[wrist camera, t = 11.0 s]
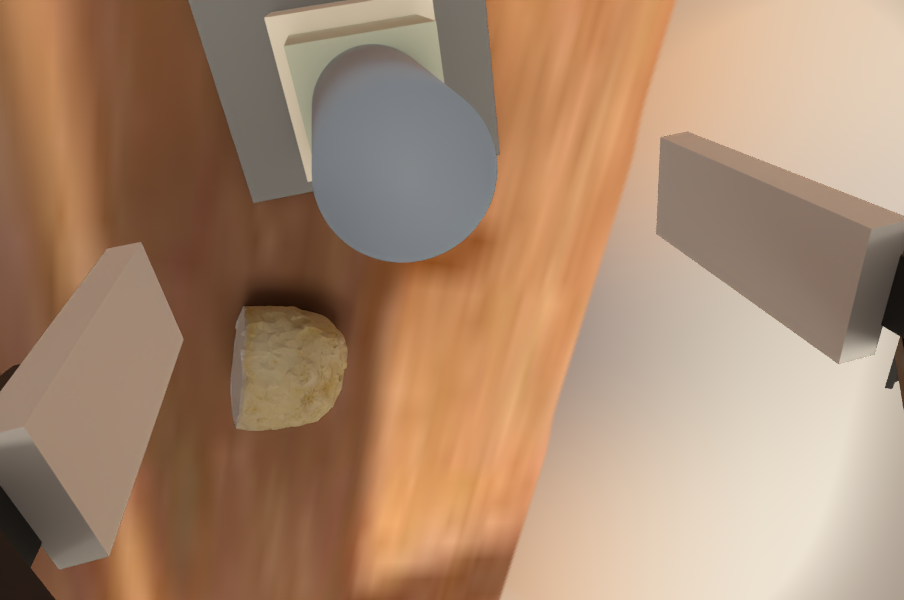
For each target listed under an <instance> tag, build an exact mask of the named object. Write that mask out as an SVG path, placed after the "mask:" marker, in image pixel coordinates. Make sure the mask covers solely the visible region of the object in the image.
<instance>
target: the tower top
mask: <svg viewBox="0 0 904 600" xmlns="http://www.w3.org/2000/svg"><path fill="white" fill-rule="evenodd" d="M366 44H380V45H386V46H390V47H393V48H396V49H398V50H400V51H402V52H404V53H405V54H407V55H408V56H410V57H411V58H413V59H414V60H415V61H416V62H418V63H419V64H420V65H422V66H423V67H424V68H425V69H427V70H428V71H429V72H430V73H432V74H433V75H434V76H435V77H437V78H438V79H439V80H441V81H442V82H443V83H444V76H443V69H442V61H441V54H440V46H439V39H438V31H437V24H436V21H435V20H432V19H429V18H426V17H423V16H420V15H417V14H415V15H408V16H402V17H396V18H390V19H384V20H378V21H372V22H366V23H360V24H354V25H347V26H341V27H335V28H329V29H323V30H317V31H311V32H305V33H299V34H293V35H288V37H287V39H286V42H285V44H284V49H285V53H286V57H287V61H288V65H289V69H290V73H291V77H292V81H293V85H294V88H295V92H296V96H297V100H298V104H299V108H300V112H301V116H302V120H303V124H304V127H305V131H306V135H307V139H308V143H309V147H310V151H311V155H312V97H313V92H314V88H315V85H316V83H317V80H318V78H319V76H320V74H321V73H322V71H323V70H324V68H325V67H326V66H327V65H328V64H329V62H330V61H331V60H332V59H334V58H335V57H336V56H337V55H339V54H340V53H342V52H344V51H346V50H348V49H350V48H353V47H356V46H360V45H366Z"/></svg>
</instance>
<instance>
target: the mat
mask: <svg viewBox="0 0 904 600" xmlns="http://www.w3.org/2000/svg"><path fill="white" fill-rule="evenodd" d="M188 1H189V4H190V7H191V10H192V13H193V16H194V20H195V23H196V26H197V29H198V32H199V35H200V38H201V41H202V44H203V48H204V51H205V54H206V57H207V60H208V63H209V66H210V69H211V73H212V76H213V79H214V82H215V85H216V88H217V91H218V94H219V97H220V101H221V104H222V107H223V110H224V113H225V116H226V119H227V122H228V126H229V129H230V132H231V135H232V138H233V141H234V144H235V147H236V150H237V154H238V157H239V160H240V163H241V166H242V169H243V172H244V175H245V179H246V182H247V185H248V188H249V191H250V194H251V197H252V200H253V203H256V202H261V201H267V200H272V199H277V198H282V197H287V196H292V195H297V194H302V193H308V192H313V191H314V190H313V185H312V181H310V182H308V181H307V177H306V173H305V170H304V166H303V162H302V158H301V155H300V151H299V147H298V143H297V140H296V136H295V132H294V128H293V125H292V121H291V117H290V113H289V110H288V106H287V102H286V98H285V95H284V91H283V87H282V83H281V80H280V76H279V72H278V68H277V65H276V61H275V57H274V53H273V49H272V46H271V42H270V38H269V34H268V31H267V27H266V23H265V19H264V17H266V16H267V15H268V14H269V13H271V12H275V11H282V10H288V9H294V8H300V7H307V6H313V5H319V4H326V3H332V2H338V1H345V0H188ZM433 8H434V15H435V21H436V24H437V31H438V39H439V46H440V54H441V61H442V69H443V76H444V84H446V85H447V86H448V87H449V88H451V89H452V90H453V91H455V92H456V93H457V94H458V95H460V96H461V97H462V98H463V99H465V100H466V101H467V102H468V103H469V104H470V105H471V106H472V107H473V108H474V109H475V110H476V112H477V113H478V114H479V115H480V116H481V118H482V120H483V121H484V123H485V124H486V126H487V128H488V130H489V132H490V135H491V137H492V140H493V143H494V147H495V151H496V156H497V155H500V151H499V140H498V129H497V118H496V107H495V97H494V86H493V75H492V64H491V54H490V43H489V32H488V21H487V10H486V0H433Z"/></svg>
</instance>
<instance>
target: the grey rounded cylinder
mask: <svg viewBox="0 0 904 600" xmlns="http://www.w3.org/2000/svg"><path fill="white" fill-rule="evenodd" d="M496 180H497V157H496V151H495V147H494V143H493V140H492V137H491V135H490V132H489V130H488V128H487V126H486V124H485V123H484V121H483V120H482V118H481V116H480V115H479V114H478V113H477V112H476V110H475V109H474V108H473V107H472V106H471V105H470V104H469V103H468V102H467V101H466V100H465V99H463V98H462V97H461V96H460V95H458V94H457V93H456V92H455V91H453V90H452V89H451V88H449V87H448V86H447V85H446V84H444V83H443V82H442V81H441V80H439V79H438V78H437V77H435V76H434V75H433V74H432V73H430V72H429V71H428V70H427V69H425V68H424V67H423V66H422V65H420V64H419V63H418V62H416V61H415V60H414V59H413V58H411V57H410V56H408V55H407V54H405V53H404V52H402V51H400V50H398V49H396V48H393V47H390V46H386V45H380V44H366V45H360V46H356V47H353V48H350V49H348V50H346V51H344V52H342V53H340V54H339V55H337V56H336V57H335V58H334V59H332V60H331V61H330V62H329V64H328V65H327V66H326V67H325V68H324V70H323V71H322V73H321V74H320V76H319V78H318V80H317V83H316V85H315V88H314V92H313V97H312V185H313V190H314V196H315V199H316V202H317V205H318V207H319V209H320V211H321V214H322V216H323V218H324V219H325V221H326V222H327V224H328V225H329V227H330V228H331V229H332V230H333V231H334V232H335V234H336V235H337V236H338V237H339V238H340V239H342V240H343V241H344V242H345V243H346V244H348V245H349V246H351V247H352V248H354V249H355V250H357V251H359V252H361V253H363V254H365V255H367V256H370V257H373V258H375V259H379V260H384V261H388V262H399V263H401V262H415V261H422V260H426V259H429V258H433V257H435V256H438V255H440V254H443V253H445V252H446V251H448V250H450V249H452V248H454V247H455V246H456V245H458V244H459V243H461V242H462V241H463V240H464V239H465V238H466V237H468V236H469V235H470V234H471V233H472V232H473V230H474V229H475V228H476V227H477V226H478V224H479V223H480V221H481V220H482V219H483V217H484V216H485V214H486V212H487V210H488V208H489V206H490V203H491V200H492V198H493V195H494V191H495V186H496Z"/></svg>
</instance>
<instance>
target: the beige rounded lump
mask: <svg viewBox="0 0 904 600" xmlns="http://www.w3.org/2000/svg"><path fill="white" fill-rule="evenodd" d="M235 328H236V332H237V333H236V336H235V343H234V353H233V362H232V370H231V404H232V415H233V420H234V423H235V424H234V425H235V427H236V428H237V429H244V430H248V431H262V430H268V429H273V430H275V429H280V428H282V429H283V428H285V427H292V426H295V427H297V426H301V425H304V424H308V423H313V422H316V421H318V420H319V419H320V418H321V417H322V416H323V415H324V414H326V413H327V412H328V411H329V409H330V408H332V407H333V406H334V403H335V401H336V399H337V397H338V395H339V394H340V390H341V389H342V383H343V375H344V369H345V368H347V353H348V351H347V346H346V341H345V339H344V336H343V335H342V333H341V332H340V331H339V330H337V329H336V327H335V325H334V324H333V323H331V321H330V320H329V319H327V318H326V317H325V316H323V315H320V314H317V313H314V312H309V311H304V310H301V309H299V308H297V307H294V306H288V307H284V306H265V307H264V306H252V307H250V306H243V308H242V311H241V313H240V315H239V317H238V320H237V322H236V326H235Z"/></svg>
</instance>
